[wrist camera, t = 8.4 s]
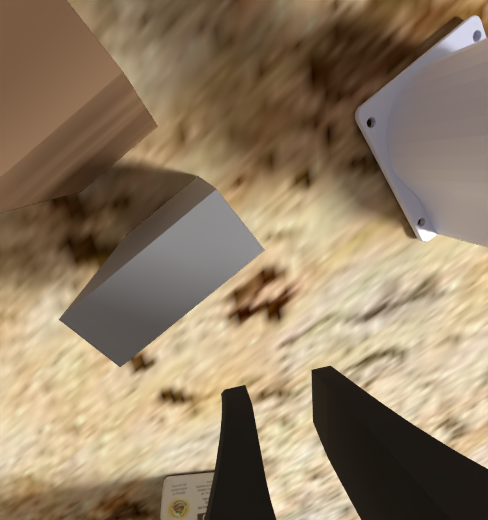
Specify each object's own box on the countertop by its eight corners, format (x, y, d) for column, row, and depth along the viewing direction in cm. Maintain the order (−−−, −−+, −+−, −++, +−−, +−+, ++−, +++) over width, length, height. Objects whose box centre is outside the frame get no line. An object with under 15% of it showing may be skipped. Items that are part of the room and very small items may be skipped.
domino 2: (221, 205, 16) (264, 250, 8) (152, 263, 16) (120, 367, 8) (198, 175, 15) (216, 188, 7) (125, 236, 16) (58, 319, 7)
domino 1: (157, 126, 14) (122, 71, 6) (80, 191, 15) (-60, 228, 6) (127, 88, 14) (38, -36, 5) (46, 157, 14) (-164, 146, 5)
